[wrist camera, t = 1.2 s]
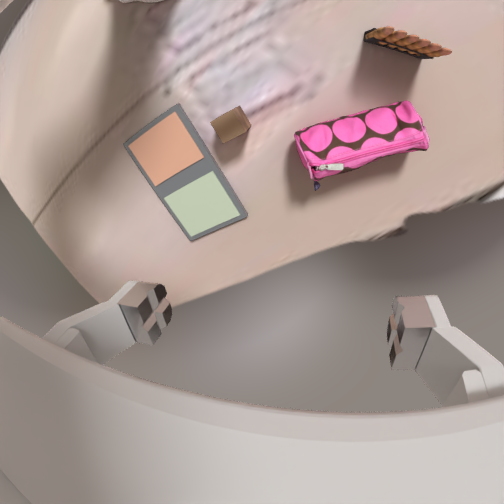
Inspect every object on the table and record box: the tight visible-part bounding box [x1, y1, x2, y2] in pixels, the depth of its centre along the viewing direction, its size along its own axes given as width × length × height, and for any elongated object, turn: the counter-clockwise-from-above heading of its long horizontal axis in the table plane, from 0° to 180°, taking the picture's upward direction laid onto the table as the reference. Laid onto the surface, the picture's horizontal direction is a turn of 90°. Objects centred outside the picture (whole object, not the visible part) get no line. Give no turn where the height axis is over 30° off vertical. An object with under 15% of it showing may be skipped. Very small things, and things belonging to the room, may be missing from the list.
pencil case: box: [294, 101, 430, 191], centre depth 38 cm, size 21×10×10 cm, turn 117°
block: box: [210, 106, 251, 144], centre depth 42 cm, size 4×4×6 cm
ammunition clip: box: [364, 26, 452, 59], centre depth 26 cm, size 11×2×12 cm, turn 87°
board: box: [123, 103, 248, 241], centre depth 51 cm, size 25×14×1 cm, turn 29°
